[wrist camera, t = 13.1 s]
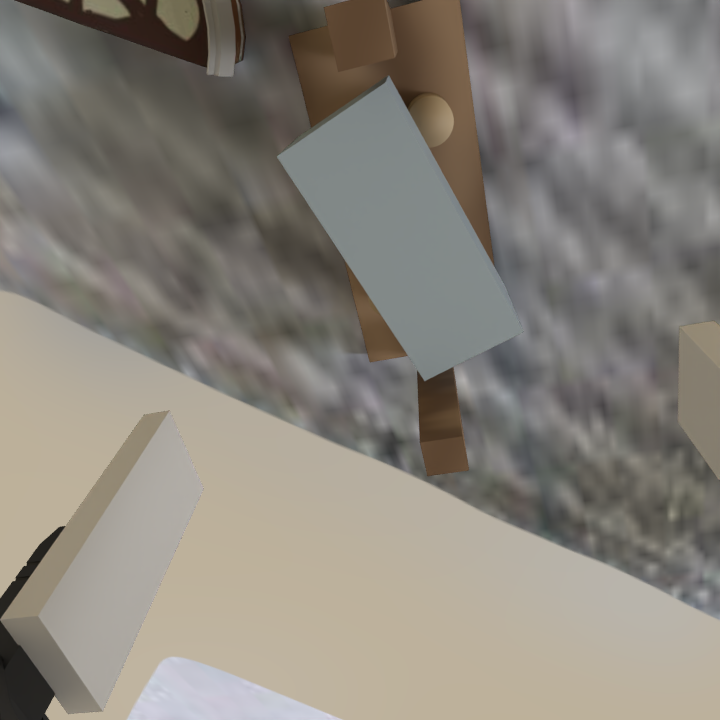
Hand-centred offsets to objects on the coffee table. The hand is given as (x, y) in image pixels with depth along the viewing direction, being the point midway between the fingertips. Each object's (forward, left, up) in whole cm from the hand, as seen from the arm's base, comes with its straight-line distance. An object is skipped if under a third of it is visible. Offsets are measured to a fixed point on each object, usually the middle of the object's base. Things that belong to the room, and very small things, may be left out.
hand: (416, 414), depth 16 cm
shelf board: (0, 0, -20) cm, 20 cm away
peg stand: (0, 0, -24) cm, 24 cm away
